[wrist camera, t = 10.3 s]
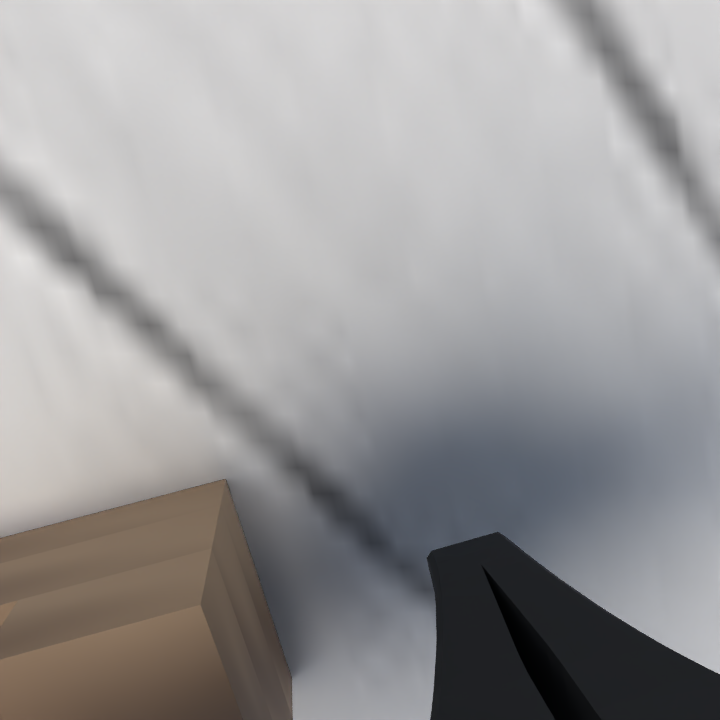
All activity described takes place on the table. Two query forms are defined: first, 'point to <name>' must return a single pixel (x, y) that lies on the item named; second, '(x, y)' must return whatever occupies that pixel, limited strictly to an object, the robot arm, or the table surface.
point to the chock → (139, 617)
